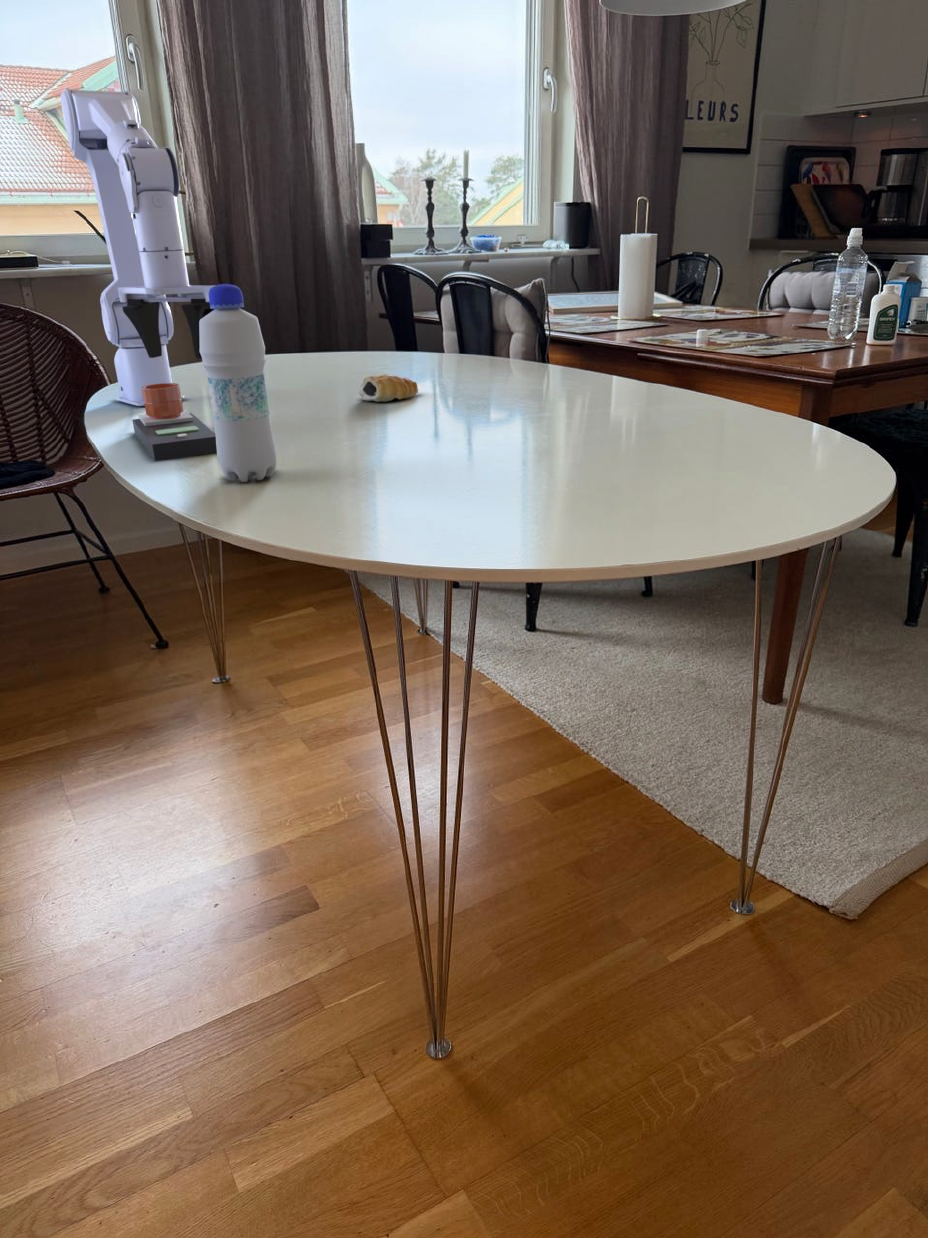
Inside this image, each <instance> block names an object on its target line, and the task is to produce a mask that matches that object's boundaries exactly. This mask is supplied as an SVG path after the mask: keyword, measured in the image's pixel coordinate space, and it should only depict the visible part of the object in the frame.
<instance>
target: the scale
mask: <svg viewBox="0 0 928 1238" xmlns="http://www.w3.org/2000/svg"><path fill="white" fill-rule="evenodd" d="M183 411H184V412H183V413H181V414H182V415H181V416H179V417H176V418H170V419H151V418H149V416H147V415H146V413H143V414H139V415H138V416H137V417H138V418H134V419H131V421H132V426H133V432H134V435H135V436H136V437H137V439H138V440H139V441H140V443H141V444H142V446H143V447H144V448H145V449H146V450H147V452H148V454H149V455H150V456H151V458H153V460H154V461H155V462H156V461H164V460H165V461H166V460H172V459H178V458H187V457H194V456H201V455H209V454H217V448H216V435H215V431H213V429H211V428H210V427H209V426H208V425H206V424H205V423H204V422H203V421H202V420H201V419H199V418H198V417H197V416H195V414H193V413H192V412H188V411H186V410H185V409H183Z"/></svg>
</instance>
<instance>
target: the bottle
mask: <svg viewBox="0 0 928 1238" xmlns="http://www.w3.org/2000/svg"><path fill="white" fill-rule="evenodd" d="M213 286H214V287H212V288H211V289H210V290H209V303H210V308H211V309H215V310H213V311H212V312H210V313H209V314H208V315H206V316H205V317H203V318H202V319H200V321H199V334H200V351H199V352H200V354H201V356H202V359H201V361H202V362H201V365H202V367H203V368H204V369H205V371H206V376H207V382H208V389H209V390H208V391H209V396H210V397H209V398H210V402H211V403H210V404H211V410H212V417H213V422H214V432H215V435H216V448H217V453H216V455H217V461H218V463H219V466H220V469H221V471H222V473H223V475H224V477H225V478H226V479H228V480H229V481H232V482H235V481H236V480H237V477H238V479H239V481H241V482H242V483H247V482H248V481H249V474H250V473H254V474H255V479H256V480H257V481H262V480H264V479H265V477H267V478H269V477H272V476H273V474H275V472H276V468H277V449H276V443H275V437H274V432H273V428H272V427H273V426H272V422H271V415H270V407H269V400H268V391H267V383H266V374H265V365H266V362H267V358H266V345H265V341H264V338H263V335H262V331H261V326H260V323H259V322H260V321H259V319H258V316H256V315H254V314H252V313H250V312H248V311H246V310H244V309H243V308H244V307H245V306H244V305H245V303H244V297H243V296H244V295H243V292H242V289H240V287H239V286H237V285H234V284H229V283H222V284H218V285H213Z"/></svg>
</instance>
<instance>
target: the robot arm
mask: <svg viewBox="0 0 928 1238" xmlns="http://www.w3.org/2000/svg"><path fill="white" fill-rule="evenodd" d="M60 105H61V106H60V107H61V112H62V117H63V118H62V119H63V123H64V127H65V131H66V135H67V141H68V145H69V148H70V150H71V152H72V155H73V158H75V159H77V160H78V161H80V162H81V163H82V162H83V163H84V164H86V165H85V166H86V168H87V170H88V171H89V175H90V177H91V180H92V183H93V184H92V185H93V188H94V192H95V197H96V202H97V206H98V210H99V216H100V220H101V225H102V230H103V233H104V239H105V242H106V243H105V244H106V247H107V253H108V257H109V262H110V266H111V270H112V276H113V281H112V282H111V283H110V284H109V285H108V286H106V287H105V288H104V290H103V291H102V292H101V293H100V298H99V303H100V307H101V319H102V324H103V328H104V332H105V336H106V338H107V340H108V342H110V343H111V344H112V345H113V346H114V345H115V346H116V347H118V349H117V350H116V352H115V355H114V360H113V363H114V368H115V373H116V378H117V383H118V388H119V394H120V396H116V397H115V400H116V401H118V402H120V403H121V402H122V403H126V404H129V405H132V406H137V407H145V404H144V399H143V394H142V388H141V387H143V386H146V385H151V384H160V383H173V380H172V373H171V367H170V362H169V355H168V350H167V349H168V348H167V345H168V344H169V341H170V340H171V339H172V337H173V336H174V330H175V329H174V319H173V315H172V311H171V308H170V306H169V304H168V302H169V303H170V302H171V303H172V302H174V303H175V302H176V303H177V302H178V303H179V302H180V303H181V302H183V303H184V302H187V303H184V304H181V310H182V311H183V313H184V316H185V318H186V321H187V325H188V328H189V331H190V336H191V340H192V347H193V353H194V356H195V358H196V359H198V360H202V356H201V354H200V352H199V351H200V334H199V321H200V319H202V318H203V317H205V316H206V315H208V314H209V313H210V312H212V311H213V310H215V309H211V308H210V303H209V290H210V289H211V288H212V287H214V286H215V285H201V284H200V285H196V284H190V282H189V281H190V280H189V275H188V274H189V273H188V267H187V262H186V255H185V254H186V253H185V250H184V249H185V247H184V241H183V235H182V234H183V233H182V229H181V222H180V216H179V209H178V201H177V198H178V197H179V194H180V175H179V167H178V164H177V159H176V156H175V154H174V152H173V151H172V148H171V147H170V146H163V147H162V148H159V147H158V145H157V144H156V143H155V141H154V140H153V138H152V136H150V134H149V133H148V131H147V130H146V129H145V128H144V127H143V126H142V125H141V115H140V109H139V105H138V101H137V99H136V97H135V96H134V95H133V94H132V92H131V91H129V90H123V91H113V90H111V91H109V90H88V89H87V90H84V89H70V88H68V87H65V88H64V89H63V90H62V91H61V93H60ZM166 295H177V297H175V296H174V297H173V296H171V297H167V296H166ZM188 302H190V303H188ZM181 399H182V401H183V400H185V396H183V395H181Z"/></svg>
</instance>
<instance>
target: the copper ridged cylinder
mask: <svg viewBox="0 0 928 1238" xmlns="http://www.w3.org/2000/svg"><path fill="white" fill-rule="evenodd" d="M141 388H142V394H143V399H144V404H145V406H144V409H145V414H146V415H147V416H149V418H151V419H170V418H176V417H179V416H181V415H182V414H181V413H183V412H184V411H183V410H184V405H183V400H182V399H181V396H182V393H181V387H180V384H179V383H176V382H175V383H174V382H172V383H160V384H151V385H146V386H143V387H141Z"/></svg>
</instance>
